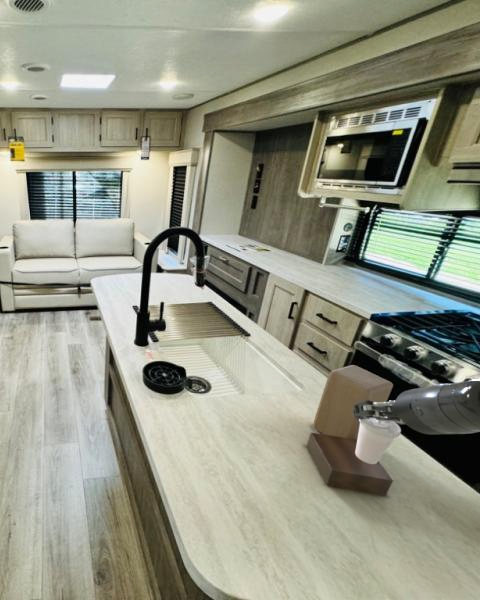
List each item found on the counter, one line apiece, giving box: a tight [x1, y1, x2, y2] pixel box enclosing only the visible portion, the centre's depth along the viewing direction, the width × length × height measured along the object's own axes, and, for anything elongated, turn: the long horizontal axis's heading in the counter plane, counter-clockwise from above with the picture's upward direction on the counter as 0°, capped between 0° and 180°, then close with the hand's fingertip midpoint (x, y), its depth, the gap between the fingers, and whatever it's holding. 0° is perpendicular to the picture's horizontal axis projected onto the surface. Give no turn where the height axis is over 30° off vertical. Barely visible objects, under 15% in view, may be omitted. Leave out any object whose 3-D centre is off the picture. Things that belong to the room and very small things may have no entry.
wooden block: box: [312, 364, 394, 440], centre depth 86 cm, size 10×10×20 cm
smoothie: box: [355, 413, 402, 464], centre depth 66 cm, size 6×6×14 cm
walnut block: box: [306, 432, 394, 497], centre depth 78 cm, size 12×12×5 cm
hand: (375, 416), depth 66 cm, fingers closed on smoothie, 6 cm apart
